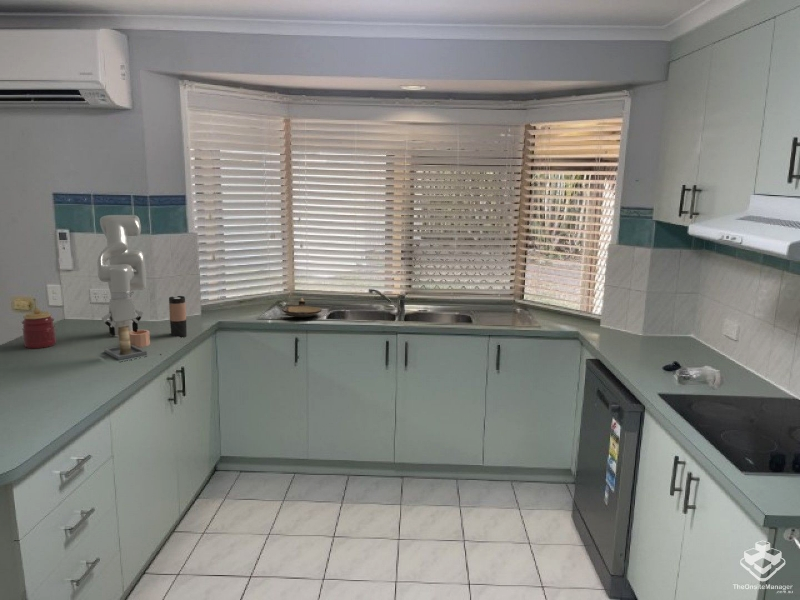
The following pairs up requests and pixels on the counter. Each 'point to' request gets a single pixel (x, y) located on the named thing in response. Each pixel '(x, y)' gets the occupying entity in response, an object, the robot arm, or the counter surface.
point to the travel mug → (177, 316)
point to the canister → (38, 329)
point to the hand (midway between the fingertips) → (124, 333)
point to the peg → (124, 339)
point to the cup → (140, 338)
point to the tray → (116, 354)
